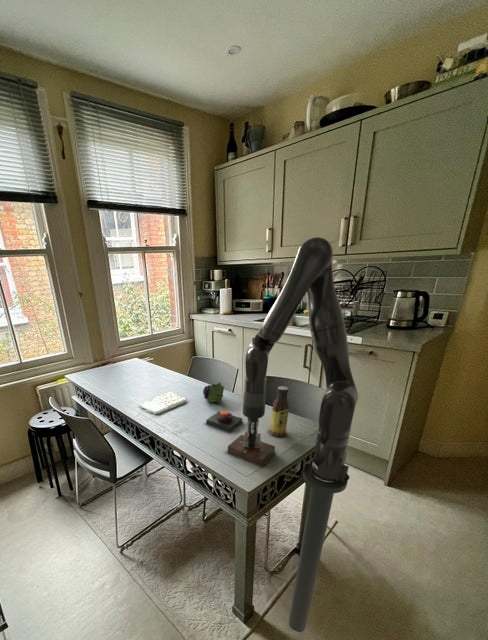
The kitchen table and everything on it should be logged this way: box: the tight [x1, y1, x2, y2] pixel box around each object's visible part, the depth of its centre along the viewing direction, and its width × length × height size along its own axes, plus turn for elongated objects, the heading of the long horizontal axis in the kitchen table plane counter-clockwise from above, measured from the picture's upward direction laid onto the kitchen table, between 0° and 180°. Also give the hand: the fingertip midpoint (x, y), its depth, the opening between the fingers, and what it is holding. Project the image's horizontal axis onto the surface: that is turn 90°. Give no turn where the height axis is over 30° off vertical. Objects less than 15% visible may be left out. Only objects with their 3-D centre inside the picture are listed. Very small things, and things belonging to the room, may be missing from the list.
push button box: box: [205, 410, 243, 433], centre depth 137 cm, size 12×10×4 cm
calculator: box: [139, 391, 187, 415], centre depth 156 cm, size 13×20×2 cm, turn 132°
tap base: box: [227, 434, 276, 467], centre depth 116 cm, size 14×10×3 cm
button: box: [220, 410, 230, 418], centre depth 135 cm, size 4×4×2 cm
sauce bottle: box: [269, 385, 290, 437], centre depth 125 cm, size 7×6×20 cm
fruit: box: [202, 382, 225, 404], centre depth 156 cm, size 10×11×15 cm
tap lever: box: [243, 431, 262, 448], centre depth 114 cm, size 6×2×5 cm, turn 78°
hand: (251, 444), depth 115 cm, fingers closed on tap lever, 2 cm apart
